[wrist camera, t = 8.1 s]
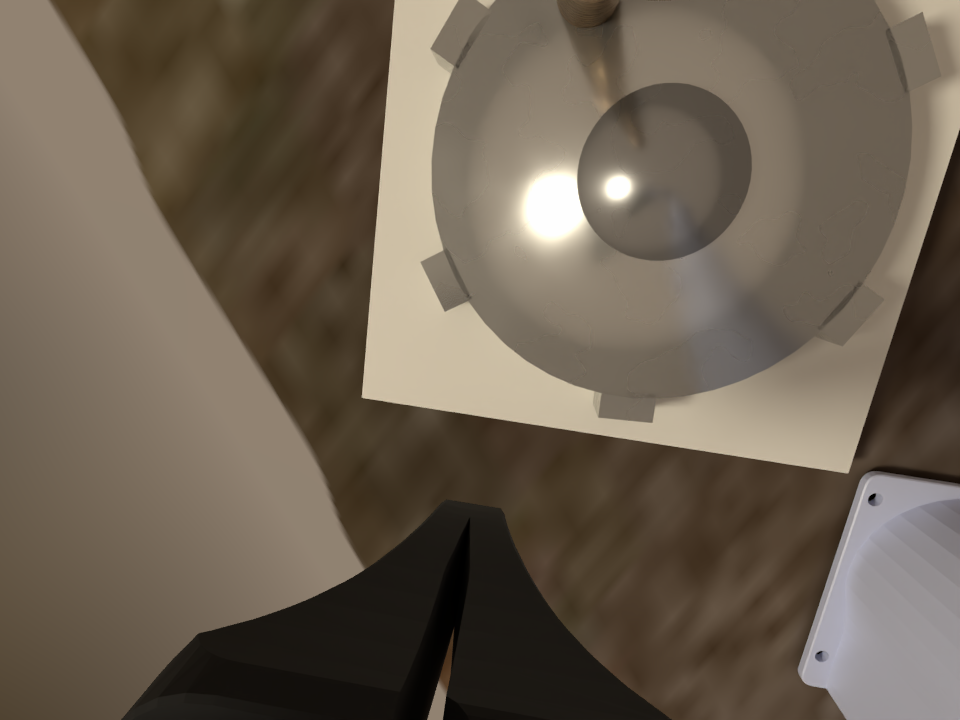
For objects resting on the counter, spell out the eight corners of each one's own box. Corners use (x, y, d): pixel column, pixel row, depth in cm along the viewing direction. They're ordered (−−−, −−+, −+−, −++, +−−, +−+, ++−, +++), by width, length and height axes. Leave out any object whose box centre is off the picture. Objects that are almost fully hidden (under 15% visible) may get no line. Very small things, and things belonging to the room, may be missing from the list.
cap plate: (832, 461, 20) (851, 475, 19) (369, 390, 21) (360, 399, 20) (1006, -90, 16) (1044, -116, 15) (416, -149, 17) (407, -176, 16)
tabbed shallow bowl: (962, 278, 17) (1155, 297, 12) (525, 457, 20) (523, 537, 15) (818, -191, 15) (980, -430, 10) (343, 85, 18) (263, 20, 12)
